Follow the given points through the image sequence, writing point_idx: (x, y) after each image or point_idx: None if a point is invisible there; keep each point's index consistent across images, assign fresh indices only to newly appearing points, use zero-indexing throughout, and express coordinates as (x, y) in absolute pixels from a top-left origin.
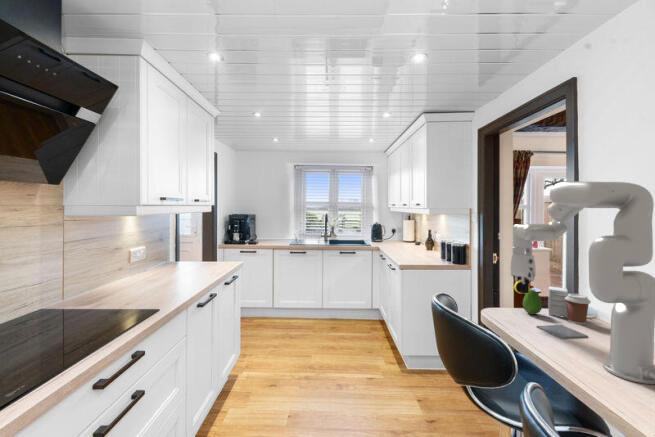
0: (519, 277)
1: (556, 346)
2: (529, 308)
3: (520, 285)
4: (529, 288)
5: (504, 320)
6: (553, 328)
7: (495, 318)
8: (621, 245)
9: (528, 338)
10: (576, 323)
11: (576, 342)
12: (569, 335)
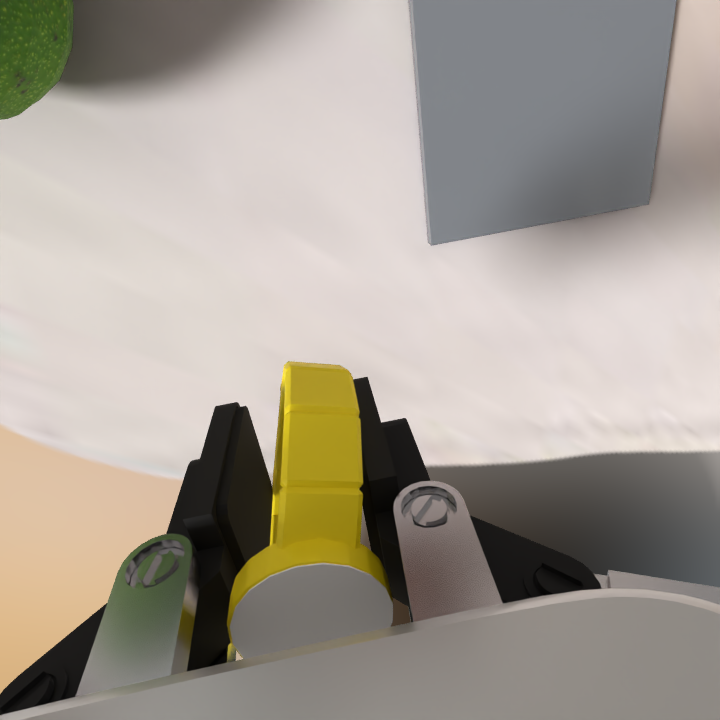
0: (116, 677)
1: (711, 316)
2: (49, 88)
3: (249, 514)
4: (349, 380)
5: None
6: (494, 132)
7: None
8: None
9: (589, 403)
10: None
11: (714, 135)
12: (640, 106)
